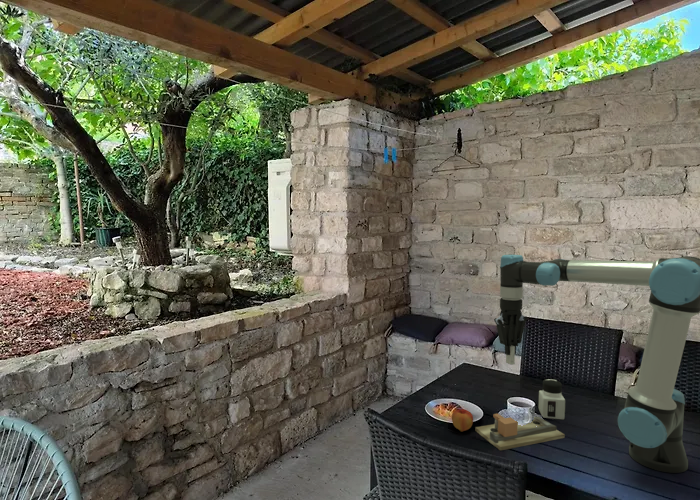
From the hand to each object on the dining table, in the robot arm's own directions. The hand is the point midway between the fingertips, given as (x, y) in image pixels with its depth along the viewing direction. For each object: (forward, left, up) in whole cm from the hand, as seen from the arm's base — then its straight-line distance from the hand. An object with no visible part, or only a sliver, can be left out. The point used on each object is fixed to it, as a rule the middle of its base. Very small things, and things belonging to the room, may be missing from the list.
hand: (510, 363), depth 161 cm
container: (+2, -21, -23) cm, 31 cm away
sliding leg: (-8, +8, -21) cm, 24 cm away
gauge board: (-7, +1, -23) cm, 24 cm away
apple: (+2, +18, -23) cm, 29 cm away
